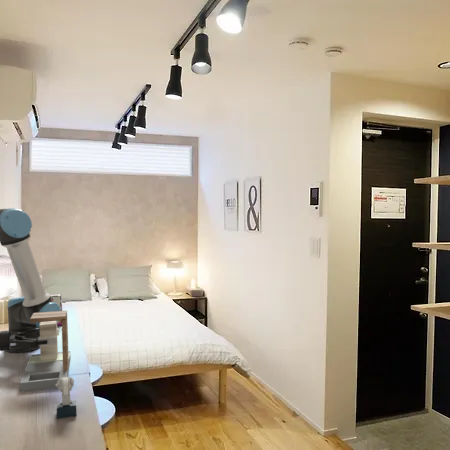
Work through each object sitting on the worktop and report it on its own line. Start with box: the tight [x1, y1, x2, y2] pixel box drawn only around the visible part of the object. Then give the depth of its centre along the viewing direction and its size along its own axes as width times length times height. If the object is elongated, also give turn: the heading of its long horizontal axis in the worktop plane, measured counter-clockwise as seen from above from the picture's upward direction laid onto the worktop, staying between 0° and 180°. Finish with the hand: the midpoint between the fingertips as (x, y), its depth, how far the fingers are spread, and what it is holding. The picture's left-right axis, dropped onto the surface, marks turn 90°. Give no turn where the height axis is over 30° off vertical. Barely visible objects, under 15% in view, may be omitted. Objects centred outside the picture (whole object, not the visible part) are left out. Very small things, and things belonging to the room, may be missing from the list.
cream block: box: [39, 321, 59, 361], centre depth 186 cm, size 5×6×14 cm
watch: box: [56, 376, 77, 420], centre depth 141 cm, size 6×8×11 cm
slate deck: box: [19, 350, 71, 393], centre depth 178 cm, size 33×15×3 cm, turn 16°
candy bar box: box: [50, 293, 63, 327], centre depth 253 cm, size 11×5×16 cm, turn 105°
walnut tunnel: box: [30, 310, 69, 371], centre depth 174 cm, size 10×12×20 cm
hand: (58, 336), depth 187 cm, fingers open, 13 cm apart
